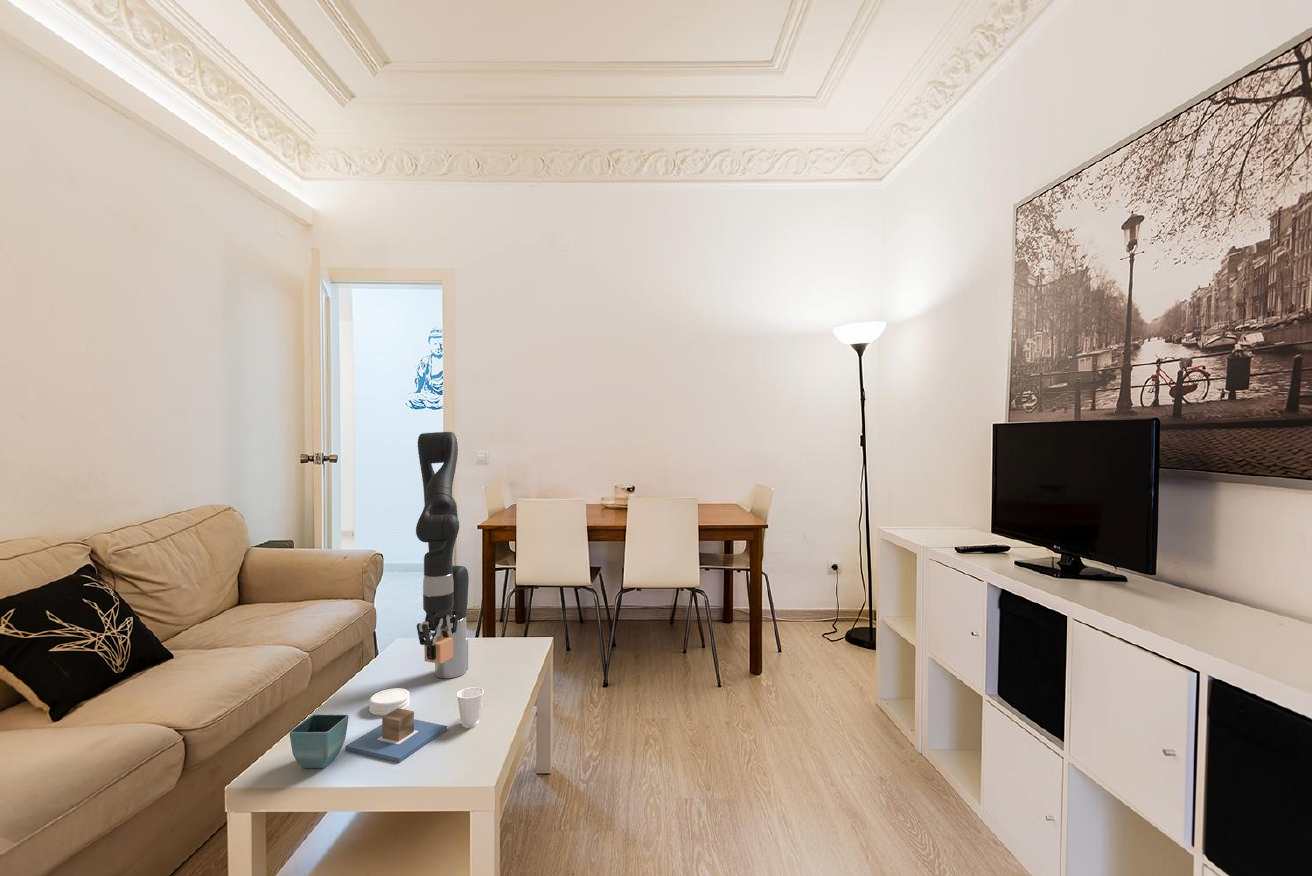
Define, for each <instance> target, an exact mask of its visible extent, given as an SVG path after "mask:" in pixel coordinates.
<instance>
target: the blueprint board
mask: <svg viewBox="0 0 1312 876" xmlns="http://www.w3.org/2000/svg"><path fill="white" fill-rule="evenodd" d="M447 730H448V725H444V724H439V723H434V722H430V721H424V720H419V719H415V718H414V732H413V733H411V734H410V735H408V736H407V737H405V738H404V739H402V740H401V741H399V742H398V741H394V740H389V739H384V738H382V724H379V726H376V727H375V728H373V729H372V730H370V731H368V732H366V733H365V734H363V735H362V736H360V737H359V736H358V738H356V739H354V740H352V741H351V742H349V743H347V744H346V745H345V747H344V748H345V751H346V752H347V751H348V752H352V753H355V754H361V755H365V756H369V757H373V758H377V759H382V760H386V761H391V762H394V763H399V764H400V763H401V762H403V761H405V760H406V759H407V758H409V757H410V756H412V755H413V754H415V753H416V752H417V751H419V750H421V749H422V748H424V746H426V745H427V744H429V743H430V742H432V741H433V740H435V739H436V738H437V737H439V736H440V735H442V734H443V733H445V732H446V731H447Z"/></svg>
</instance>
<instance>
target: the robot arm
mask: <svg viewBox="0 0 1312 876" xmlns="http://www.w3.org/2000/svg"><path fill="white" fill-rule="evenodd" d="M417 451H418V452H417V453H418V459H419V465H420V471H421V473H420V474H421V478H422V479H421V480H422V486H423V487H422V488H423V501H424V507H423V509H422V513H421V514H420V516H419V518H418V520H417V523H416V525H415V526H416V527H415V535H416V537H417V539H418V540H419V541H420V542H423V543H427V545H428V551H427V552H426V553H425V554H424V556H423V581H422V608H423V609H422V610H423V611H424V612H425V619H424V621H423V622H419V623H417V624H416V631H417V635H418V641H419V645H420V646H424V645H426V647H427V658H428V659H429V660H434V659H436V645H435V644H436V639H437V637H438V636H442V637H449V638H453V657H452V658H450V659H448V660H446V661H445V662H443V663H441V664H438V663H434V676H435V677H436V678H440V679H452V678H458V677H460V676H463V675H464V674H465V673H467V670H468V669H469V639H468V638H467V609H468V605H469V604H468V600H469V582H470V581H469V580H470V579H469V578H470V577H469V570H468V569H467V568H466V566H462V565H453V556H454V548H455V544H456V541H457V538H458V535H459V530H460V521H459V518H458V506H457V502H456V499H455V498H454V497H453V485H454V478H455V473H456V468H457V463H458V455H459V454H458V453H459V452H458V451H459V446H458V439H457V436H456V434H455V432H452V431H438V432H425V433H424V432H422V433H420V434H419V435H418V437H417ZM442 463H443V464H442ZM432 464H442V465H441V467H440V468H439V469H438V470H437V471H436V472H435V470H434V468H433V465H432ZM430 639H432V641H431V640H430Z"/></svg>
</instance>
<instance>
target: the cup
mask: <svg viewBox="0 0 1312 876" xmlns="http://www.w3.org/2000/svg"><path fill="white" fill-rule="evenodd" d="M484 696H485V691H484V688H481V687H478V686H471V687H465V688H462V689H461V690H459V691H457V692H456V698H457V702H458V710H459V717H460V720H461V727H462V728H466V729H470V728H475V727H477V726H478V725H479V724H480V719H481V718H480V717H481V716H482V715H481V714H482V711H483V702H484Z"/></svg>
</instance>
